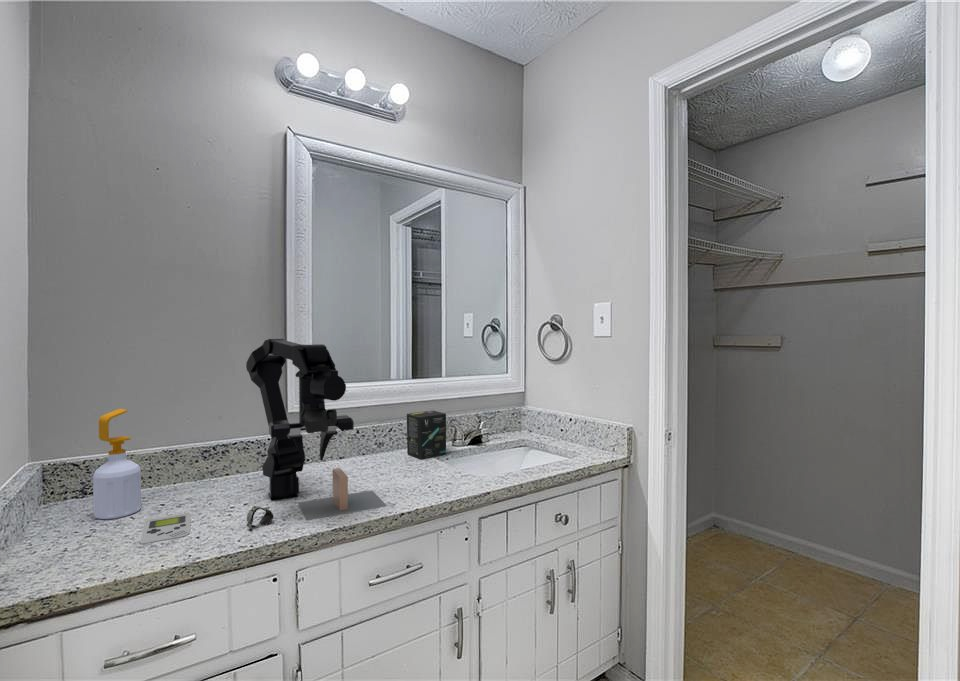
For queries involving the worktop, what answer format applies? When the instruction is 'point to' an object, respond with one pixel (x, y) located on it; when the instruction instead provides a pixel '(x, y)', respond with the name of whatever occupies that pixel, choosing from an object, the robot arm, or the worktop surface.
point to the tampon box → (426, 434)
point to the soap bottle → (116, 477)
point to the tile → (340, 489)
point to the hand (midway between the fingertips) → (312, 461)
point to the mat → (329, 508)
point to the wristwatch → (265, 519)
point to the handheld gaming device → (165, 528)
